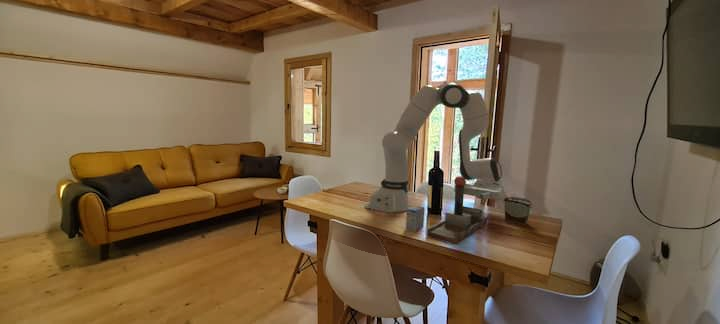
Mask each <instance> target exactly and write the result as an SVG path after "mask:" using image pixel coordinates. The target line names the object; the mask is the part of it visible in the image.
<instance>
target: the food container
mask: <svg viewBox="0 0 720 324" xmlns="http://www.w3.org/2000/svg"><path fill="white" fill-rule="evenodd" d="M502 202H504V220H507V221H511V222H513V223H515V224H516V223H517V224H520V225H523V226H527V225H528V220H529V216H530V213H531V212H530V211H531V208H533V203H532V201H531V200H529V199H527V198H523V197H517V196H505V197H504V198H503V201H502Z"/></svg>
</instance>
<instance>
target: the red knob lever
mask: <svg viewBox="0 0 720 324" xmlns="http://www.w3.org/2000/svg"><path fill="white" fill-rule="evenodd" d="M453 182H454V186H455V185H456V188H455V192H454V208H453V209H454V210H450V209H449V210H448V211H445V213H444V214H445V216H444V220H445V224H446V225H450V226H454V227H458V228H462V229H468V228H469V227H470V226H471V215H469V214H465V213H463V206H464V196H465V194H464V186H465V184H467V180H466V179H465V178H464V177H462V176H461V175H460V176H459V175H458V176H456V177H455V179H454V181H453Z"/></svg>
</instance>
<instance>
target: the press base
mask: <svg viewBox="0 0 720 324" xmlns="http://www.w3.org/2000/svg"><path fill="white" fill-rule="evenodd" d="M463 213H465V214H469V215H471V226H470V227H469V228H468V229H462V228H458V227H454V226H450V225H446V224H445V219H443V220H442V221H440V222H438V223H436V224H434V225H431V226H430V227H428V228H427V233H426V236H427V237H429V238H432V239H436V240H439V241H443V242H446V243H450V244H453V245H457V246H458V245H460V243H462V242H463V241H465V240H466V239H467V238H470V236H472V235H473V234H476V233H477V232H479V230H481V229H482V228H484V227H485V226H487V225H488V217H484V218H483V210H482V209H479V208H472V207H469V206H464V205H463Z"/></svg>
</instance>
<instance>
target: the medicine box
mask: <svg viewBox="0 0 720 324" xmlns="http://www.w3.org/2000/svg"><path fill="white" fill-rule="evenodd" d="M409 207H410V208H408V209H407V211H406V215H405V216H406V218H405V220H406V221H405V230H407V231H411V232H417V231H418V230H420V229H422V228H423V227H424V224H425V223H424V221H425V206H421V205H417V204H415V205H412V206H409Z"/></svg>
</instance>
